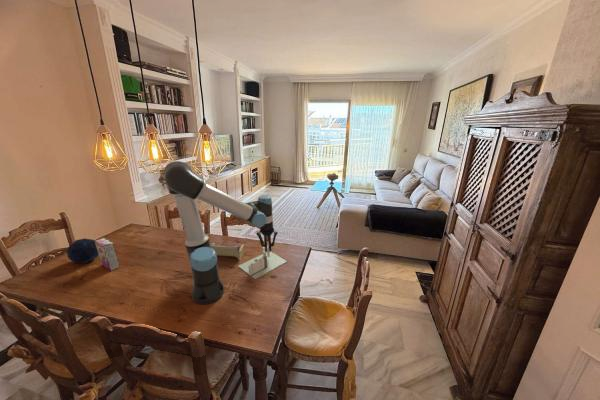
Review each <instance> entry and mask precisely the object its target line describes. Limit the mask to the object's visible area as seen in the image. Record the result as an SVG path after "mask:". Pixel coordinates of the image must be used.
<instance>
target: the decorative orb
mask: <svg viewBox="0 0 600 400" xmlns="http://www.w3.org/2000/svg"><path fill="white" fill-rule="evenodd" d="M95 241H96V240H95V239H90V238H80V239H75V240H74V241H73V242H72V243H71V244H69V246H68V249H67V250H66V254H67V258H68V259H69V260H70V261H72V262H73V263H74V264H75V263H77V264H86V263H90V262H92V261H93V260H94V259H96V258H97V257H98V256H99V253H98V250H97V247H96V244H95ZM89 261H90V262H89Z"/></svg>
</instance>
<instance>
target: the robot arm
mask: <svg viewBox="0 0 600 400" xmlns="http://www.w3.org/2000/svg"><path fill="white" fill-rule="evenodd" d="M162 173H163V176H164V182H165V185H166V187H167V190H168V192H169V194H170V195H171V196H173V197H174V200H175V203H176V207H177V211H178V213H179V217H180V220H181V224H182V228H183V229H184V234H185V239H186V240H185V241H184V245H185V248H186V249H185V250H186V252H187V257H188V259H189V260H188V261H189V264H190V268H191V273H192V274H191V275H192V279H193V286H192V289H191V299H192V301H193V302H194V303H195V304H199V305H209V304H212V303H214V302H216V301H218V300H219V299H221V298H222V296H223V295H224V293H225V285H224V283H223V282H222V280H221V278H220V276H219V267H218V255H216V252H215V250H214V249H212V248H211V244H212V243H211V242H210V237H209V235H208V234H205V230H204V228H203V227H204V226H203V223H202V219H201V214H200V212H199V207H198V204H197V201H196V200H200V201H202V202H204V203H206V204H208V205H210V206H213V207H215V208H218V209H220V210H221V211H224V212H226V213H229V214H231V215H234V216H235V217H237V218H239V219H241V220H244V221H246V222H249V223H251V224H252V225H253V227H255V228H260V229H259V231H256V235H257V237H258V240H259V242H260V245H261V247H262V248H263V247H265V252H267V257H270V252H272V247H274V246H275V242H276V237H277V235H278V233H279V230H275V228H274V222H273V221H274V217H273V216H274V215H273V200H272V197H271V196H270V195H269V194H268V195H266V194H264V195H260V196H258V199H257V200H256V201H249V202H243V201H241V200H240V199H237V198H236V197H234V196H232V195H229V194H227V193H226V192H223V191H221V190H220V189H218V188H216V187H214V186H212V185H210V184H208V183H206V180H205V179H204V178H201V177H200V176H199V175H197V174H195V173H194V171H193V170H192V168H191V166H190V165H188V163H186V162H184V161H180V160H174V161H172V162H171V161H170V162H169V163H168V164H166V165H165V167H164V168H163V172H162ZM272 235H273V237H272ZM262 236H263V237H262ZM267 238H268V239H267Z"/></svg>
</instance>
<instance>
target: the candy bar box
mask: <svg viewBox="0 0 600 400" xmlns="http://www.w3.org/2000/svg"><path fill="white" fill-rule="evenodd" d="M94 241H95V244H96V247H97V250H98V253H99V254H98V256H99V260H100V262H101V265H102V266H103V267H105V268H106V269H107V270H108V271H111V272H112V271H115V270H117V269H119V268H120V266H121V265H120V262H119V259H118V255H117V252H116V249H115V246H114V242H112V241H110V240H108V239H107V238H105V237H103V238H100V239H96V240H94Z"/></svg>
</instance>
